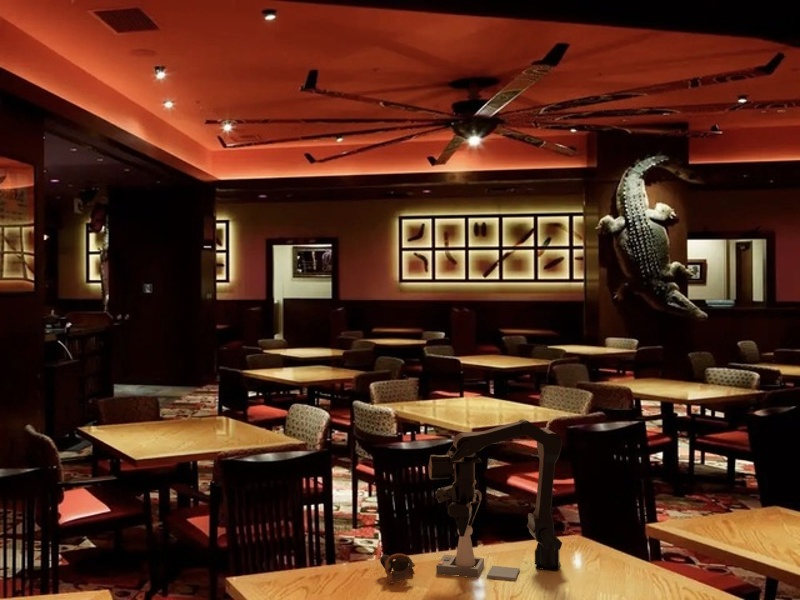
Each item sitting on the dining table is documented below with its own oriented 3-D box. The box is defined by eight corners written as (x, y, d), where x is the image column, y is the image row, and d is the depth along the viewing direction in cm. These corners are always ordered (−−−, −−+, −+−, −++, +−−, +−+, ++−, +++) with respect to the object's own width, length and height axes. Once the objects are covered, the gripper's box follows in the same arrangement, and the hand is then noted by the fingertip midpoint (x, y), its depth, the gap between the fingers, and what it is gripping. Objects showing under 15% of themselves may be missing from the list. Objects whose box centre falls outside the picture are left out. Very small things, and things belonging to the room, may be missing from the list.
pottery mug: (423, 578, 224) (421, 558, 220) (403, 602, 218) (400, 582, 214) (390, 560, 231) (387, 540, 227) (369, 582, 225) (366, 562, 220)
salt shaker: (474, 574, 225) (473, 529, 225) (454, 573, 226) (453, 528, 226) (476, 567, 231) (475, 523, 231) (456, 566, 232) (456, 522, 232)
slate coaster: (519, 571, 228) (519, 568, 228) (515, 580, 220) (515, 577, 220) (492, 568, 230) (492, 565, 230) (487, 577, 223) (487, 575, 223)
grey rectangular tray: (484, 566, 232) (484, 557, 232) (477, 578, 223) (477, 568, 223) (444, 562, 235) (444, 553, 235) (436, 573, 226) (436, 564, 226)
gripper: (445, 469, 240) (445, 520, 240) (429, 483, 222) (430, 539, 222) (481, 471, 236) (482, 523, 237) (468, 486, 219) (469, 542, 219)
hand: (465, 531), depth 228 cm, fingers open, 9 cm apart
